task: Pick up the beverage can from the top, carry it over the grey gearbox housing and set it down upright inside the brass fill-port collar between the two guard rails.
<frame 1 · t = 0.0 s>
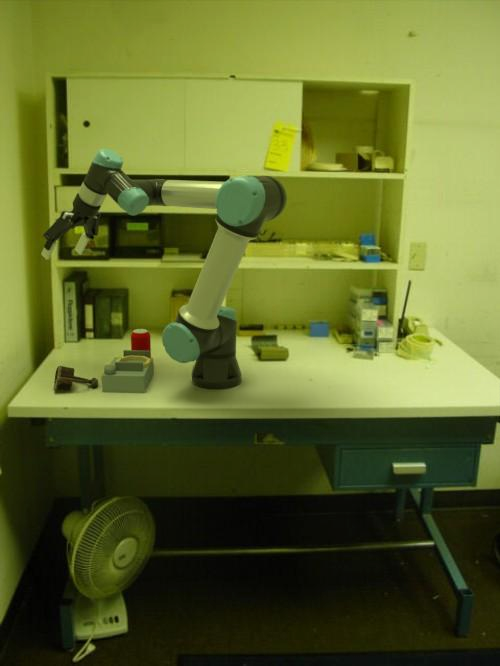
hand: (61, 254, 189), 36 cm above the table, tool tilted 35°, fingers open, 13 cm apart
gearbox: (129, 382, 184), on the table
beverage can: (141, 367, 199), on the table
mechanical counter: (75, 389, 178), on the table
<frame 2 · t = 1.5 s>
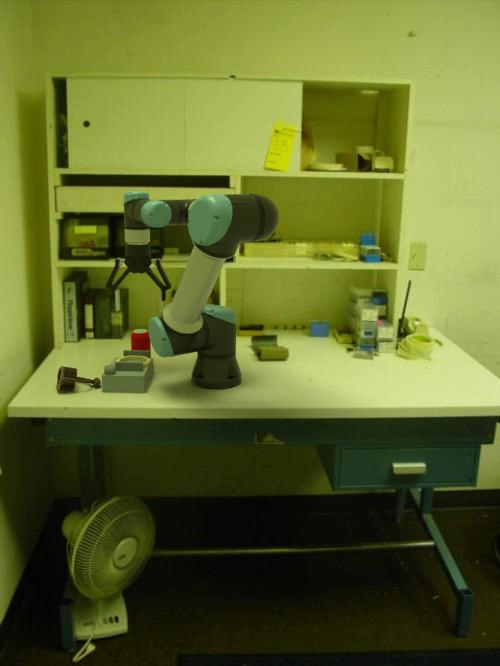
hand: (139, 310, 194), 19 cm above the table, tool pointing down, fingers open, 13 cm apart
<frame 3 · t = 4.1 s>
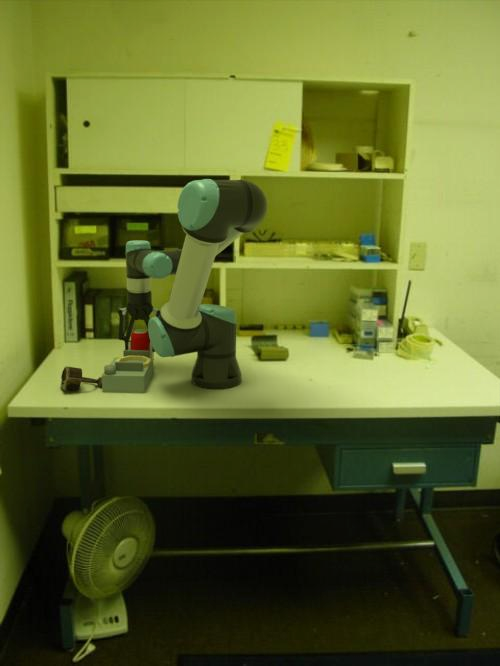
hand: (141, 360, 198), 2 cm above the table, tool pointing down, fingers closed on beverage can, 6 cm apart
beverage can: (141, 367, 199), on the table, touching gripper
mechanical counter: (82, 389, 178), on the table
when the fingers open (8 cm above the table, at t = 8.4 s): beverage can drops 1 cm, resting on gearbox.
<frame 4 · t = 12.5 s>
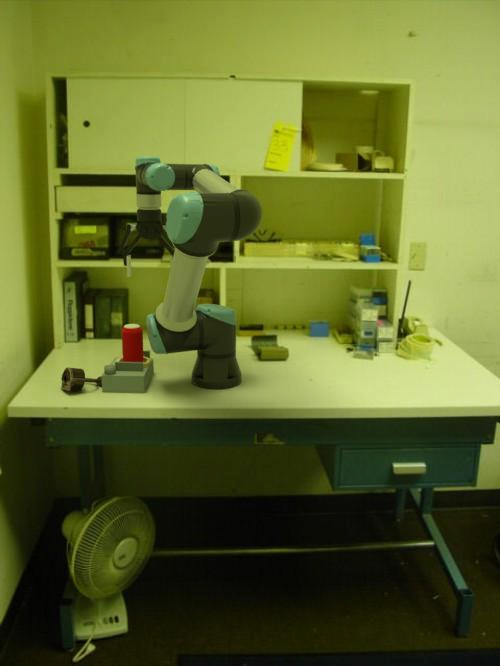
hand: (150, 276, 195), 29 cm above the table, tool pointing down, fingers open, 13 cm apart
beverage can: (133, 364, 185), point 5 cm above the table, touching gearbox
at the end: beverage can 0.0 cm from the target spot on the gearbox, point 4.8 cm above the gearbox's base; beverage can tilted 0°; the gripper is holding nothing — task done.
